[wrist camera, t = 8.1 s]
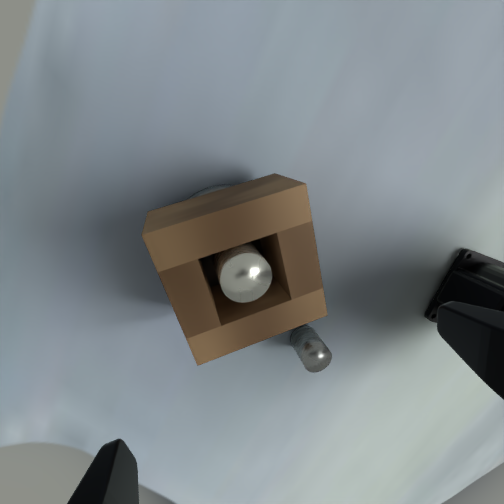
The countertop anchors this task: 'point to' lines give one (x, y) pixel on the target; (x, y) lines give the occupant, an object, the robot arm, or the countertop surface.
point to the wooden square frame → (230, 235)
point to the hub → (237, 266)
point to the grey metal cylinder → (310, 349)
